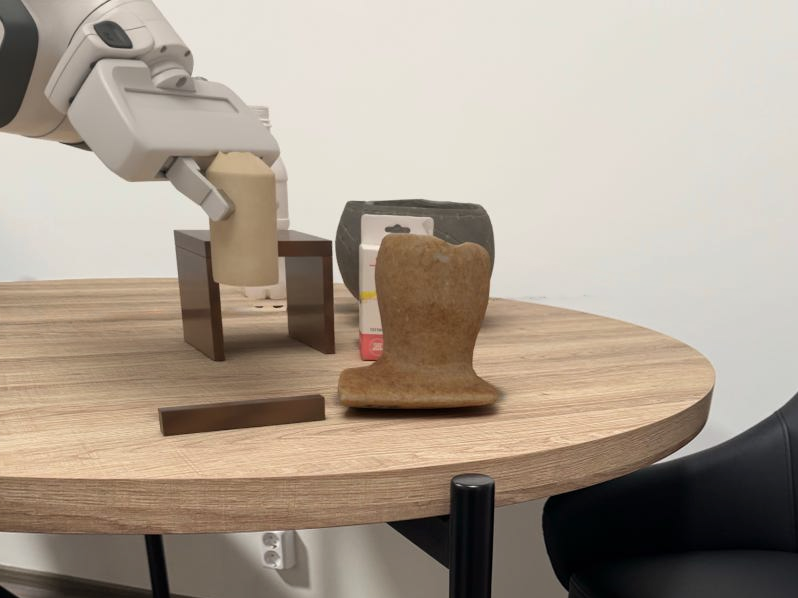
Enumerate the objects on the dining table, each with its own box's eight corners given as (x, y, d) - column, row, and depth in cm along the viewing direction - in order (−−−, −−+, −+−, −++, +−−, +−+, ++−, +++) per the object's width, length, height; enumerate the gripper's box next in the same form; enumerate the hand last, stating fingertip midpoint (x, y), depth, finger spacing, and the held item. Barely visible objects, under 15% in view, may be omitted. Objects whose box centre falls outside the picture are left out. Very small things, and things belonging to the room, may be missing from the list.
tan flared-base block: (481, 389, 96) (488, 229, 89) (507, 420, 85) (517, 241, 78) (330, 389, 93) (326, 223, 86) (339, 421, 82) (334, 236, 75)
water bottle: (242, 309, 132) (228, 104, 120) (242, 301, 138) (229, 105, 126) (294, 310, 133) (285, 107, 121) (292, 302, 139) (284, 108, 127)
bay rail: (164, 435, 76) (161, 411, 75) (160, 432, 77) (157, 407, 76) (325, 419, 83) (324, 396, 82) (320, 416, 84) (319, 393, 83)
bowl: (435, 345, 115) (438, 211, 108) (304, 323, 124) (299, 198, 117) (520, 324, 131) (527, 206, 124) (398, 306, 140) (399, 195, 133)
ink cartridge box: (361, 361, 105) (359, 217, 98) (358, 352, 109) (357, 213, 102) (437, 362, 106) (441, 220, 100) (432, 353, 111) (435, 216, 104)
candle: (275, 288, 79) (270, 154, 74) (208, 285, 78) (198, 149, 73) (282, 279, 83) (277, 153, 79) (218, 276, 83) (210, 148, 78)
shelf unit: (214, 361, 101) (204, 241, 96) (184, 340, 110) (173, 229, 105) (335, 353, 108) (332, 240, 102) (297, 334, 117) (292, 229, 111)
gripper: (192, 107, 86) (290, 232, 88) (26, 94, 69) (152, 249, 71) (231, 52, 83) (331, 183, 85) (67, 23, 66) (198, 189, 68)
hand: (249, 214), depth 78 cm, fingers closed on candle, 5 cm apart
